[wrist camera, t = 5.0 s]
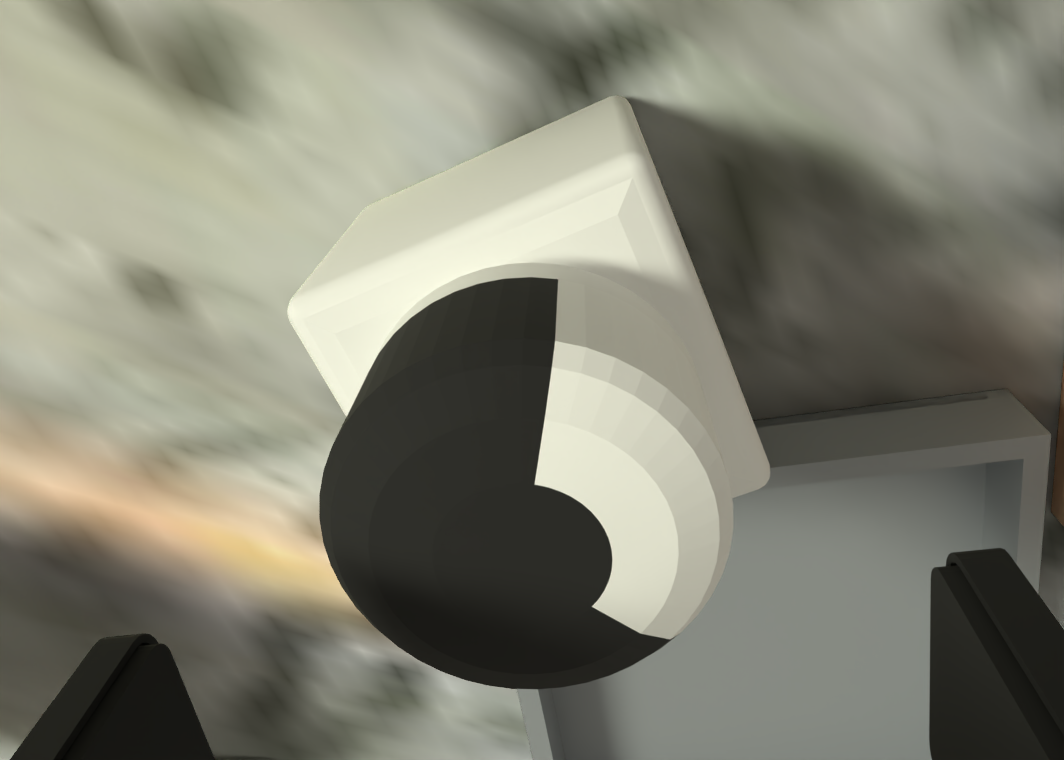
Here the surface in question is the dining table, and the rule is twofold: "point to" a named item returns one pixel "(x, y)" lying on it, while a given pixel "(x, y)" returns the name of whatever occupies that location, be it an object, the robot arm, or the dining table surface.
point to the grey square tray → (823, 592)
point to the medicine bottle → (528, 411)
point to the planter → (1059, 465)
